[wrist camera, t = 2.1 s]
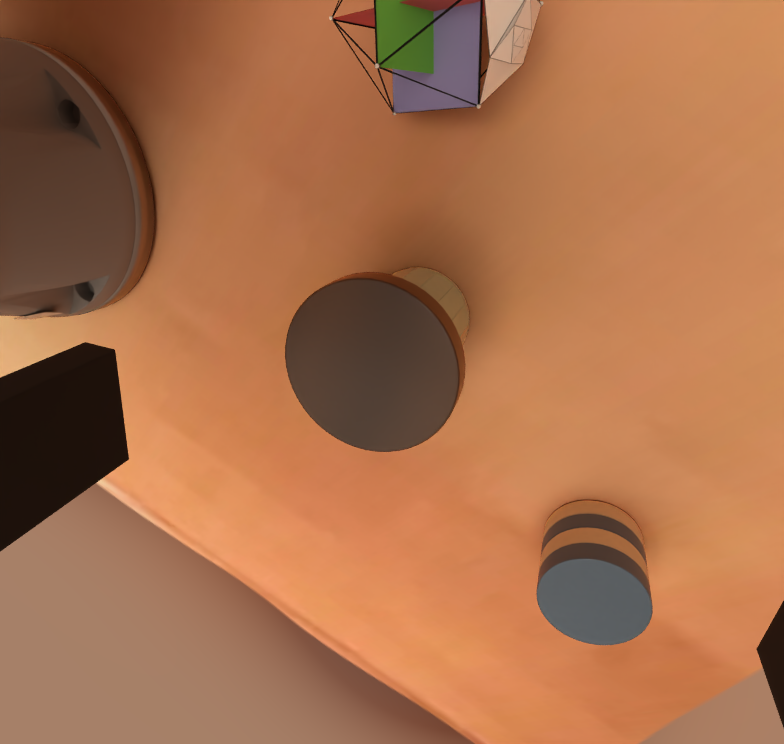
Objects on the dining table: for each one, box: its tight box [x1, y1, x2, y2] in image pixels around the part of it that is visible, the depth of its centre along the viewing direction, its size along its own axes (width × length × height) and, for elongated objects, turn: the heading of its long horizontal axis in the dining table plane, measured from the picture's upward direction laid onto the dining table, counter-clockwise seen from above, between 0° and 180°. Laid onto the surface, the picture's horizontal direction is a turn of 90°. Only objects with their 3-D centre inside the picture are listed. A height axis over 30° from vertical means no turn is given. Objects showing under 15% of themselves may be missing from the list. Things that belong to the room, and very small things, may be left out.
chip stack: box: [537, 500, 652, 645], centre depth 28 cm, size 5×5×5 cm
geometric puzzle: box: [329, 0, 543, 116], centre depth 20 cm, size 7×7×8 cm
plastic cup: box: [392, 267, 470, 346], centre depth 26 cm, size 5×5×6 cm
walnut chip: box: [285, 272, 465, 452], centre depth 22 cm, size 8×8×1 cm
